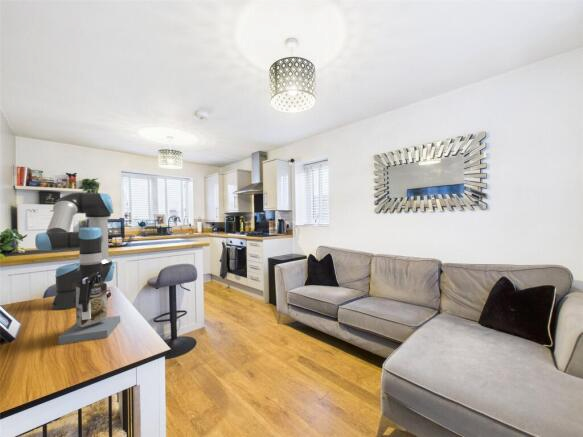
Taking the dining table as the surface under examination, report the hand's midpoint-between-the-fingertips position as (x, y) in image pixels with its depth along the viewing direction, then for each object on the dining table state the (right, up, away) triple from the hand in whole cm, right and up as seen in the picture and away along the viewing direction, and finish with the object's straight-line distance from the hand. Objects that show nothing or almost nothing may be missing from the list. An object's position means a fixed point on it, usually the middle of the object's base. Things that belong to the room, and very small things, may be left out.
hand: (92, 314), depth 106 cm
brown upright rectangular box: (0, -4, 0) cm, 4 cm away
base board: (0, -8, 0) cm, 8 cm away
